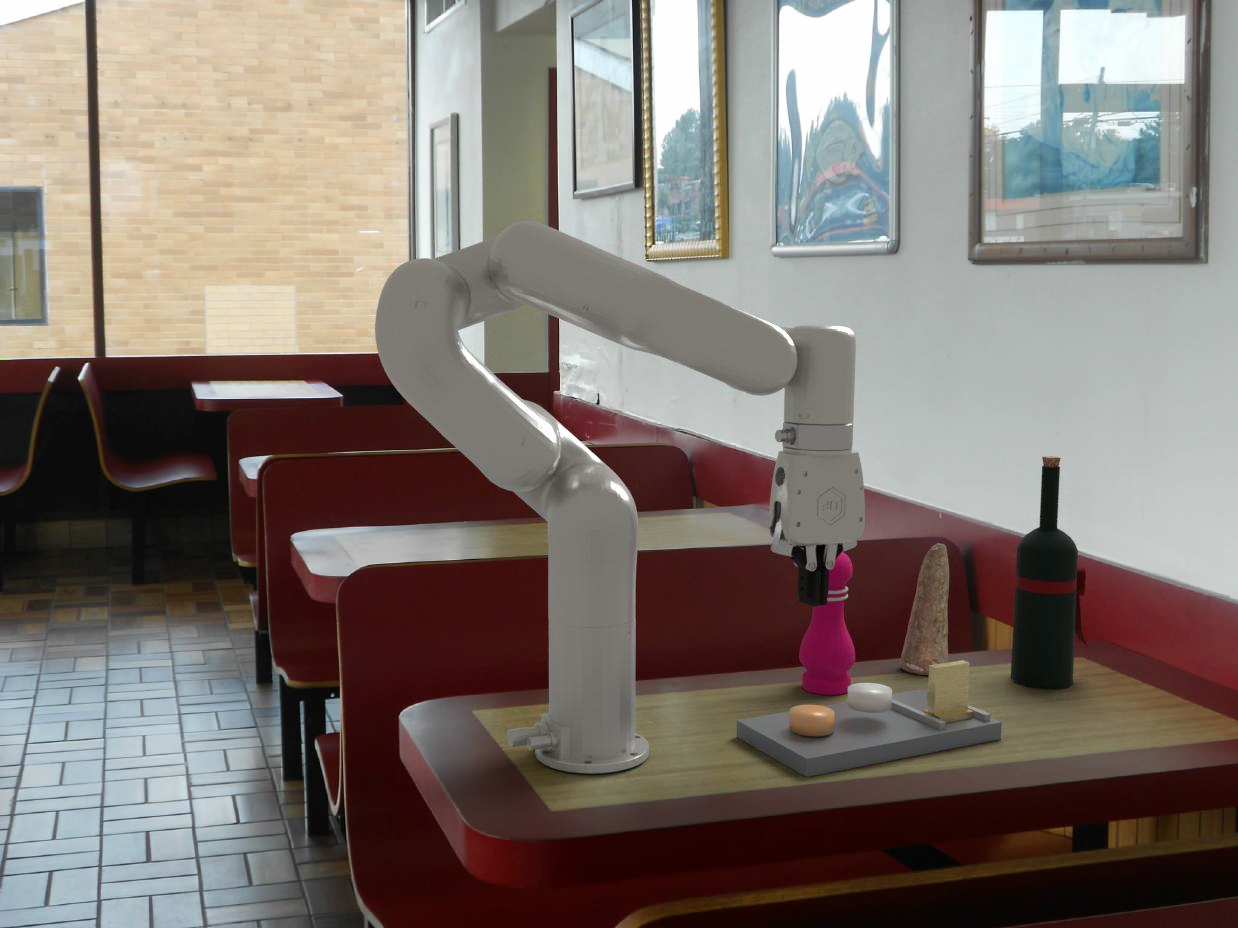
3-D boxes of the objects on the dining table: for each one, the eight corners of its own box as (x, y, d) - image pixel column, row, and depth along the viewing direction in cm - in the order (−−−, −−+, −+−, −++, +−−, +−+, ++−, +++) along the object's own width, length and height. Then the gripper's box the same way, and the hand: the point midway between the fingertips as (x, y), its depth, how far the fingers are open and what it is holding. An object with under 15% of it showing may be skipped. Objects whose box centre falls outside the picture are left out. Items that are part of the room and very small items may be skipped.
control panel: (806, 776, 133) (807, 751, 133) (736, 736, 146) (736, 713, 146) (1001, 738, 145) (1001, 715, 145) (921, 704, 158) (921, 683, 157)
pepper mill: (852, 680, 168) (855, 532, 166) (856, 697, 161) (860, 543, 158) (797, 679, 169) (800, 531, 166) (799, 695, 162) (802, 541, 159)
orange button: (805, 738, 138) (806, 721, 138) (780, 725, 143) (780, 708, 143) (843, 731, 141) (843, 714, 140) (816, 719, 145) (817, 702, 145)
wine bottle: (1100, 685, 166) (1111, 459, 162) (1031, 691, 164) (1041, 461, 160) (1065, 669, 174) (1075, 452, 170) (999, 674, 171) (1008, 454, 168)
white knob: (865, 715, 142) (865, 697, 142) (838, 702, 146) (838, 686, 146) (900, 709, 144) (901, 692, 144) (873, 697, 148) (873, 680, 148)
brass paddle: (939, 724, 144) (941, 670, 143) (922, 716, 147) (923, 663, 146) (973, 717, 146) (975, 664, 146) (955, 710, 149) (957, 658, 148)
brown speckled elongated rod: (948, 682, 170) (942, 671, 176) (973, 552, 168) (966, 545, 174) (901, 674, 170) (896, 662, 176) (925, 544, 169) (919, 537, 175)
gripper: (779, 444, 131) (775, 617, 133) (894, 439, 138) (888, 604, 140) (741, 438, 138) (737, 602, 140) (852, 433, 144) (847, 590, 147)
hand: (812, 603), depth 140 cm, fingers closed
